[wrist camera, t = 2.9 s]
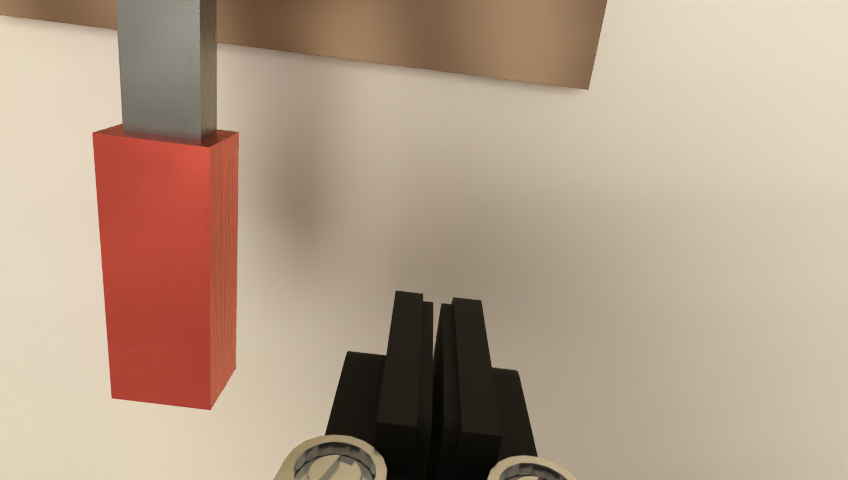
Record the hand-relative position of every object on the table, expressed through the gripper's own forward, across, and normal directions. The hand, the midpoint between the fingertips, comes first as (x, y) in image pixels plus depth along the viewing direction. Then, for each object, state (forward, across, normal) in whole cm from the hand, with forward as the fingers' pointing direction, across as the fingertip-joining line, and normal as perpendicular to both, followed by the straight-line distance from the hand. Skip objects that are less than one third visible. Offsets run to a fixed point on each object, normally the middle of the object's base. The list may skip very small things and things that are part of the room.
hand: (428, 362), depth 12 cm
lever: (+5, +7, -4) cm, 9 cm away
